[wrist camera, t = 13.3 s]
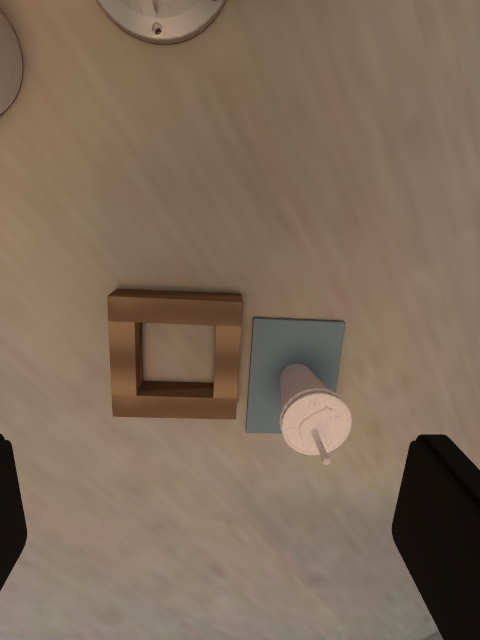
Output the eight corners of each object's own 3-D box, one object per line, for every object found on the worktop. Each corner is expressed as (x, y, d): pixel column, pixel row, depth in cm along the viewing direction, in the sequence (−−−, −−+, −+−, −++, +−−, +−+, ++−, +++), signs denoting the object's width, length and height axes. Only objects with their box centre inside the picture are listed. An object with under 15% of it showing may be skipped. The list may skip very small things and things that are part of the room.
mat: (253, 317, 41) (253, 318, 40) (343, 320, 41) (345, 322, 41) (245, 429, 45) (245, 432, 44) (327, 431, 45) (329, 434, 45)
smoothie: (257, 389, 43) (274, 471, 29) (286, 342, 41) (318, 406, 28) (305, 412, 44) (342, 502, 30) (334, 367, 42) (387, 440, 29)
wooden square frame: (117, 288, 39) (107, 296, 36) (240, 294, 40) (242, 302, 37) (121, 400, 43) (112, 416, 40) (234, 403, 44) (235, 419, 40)
